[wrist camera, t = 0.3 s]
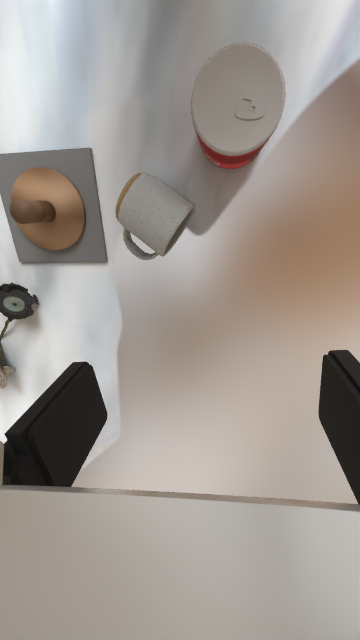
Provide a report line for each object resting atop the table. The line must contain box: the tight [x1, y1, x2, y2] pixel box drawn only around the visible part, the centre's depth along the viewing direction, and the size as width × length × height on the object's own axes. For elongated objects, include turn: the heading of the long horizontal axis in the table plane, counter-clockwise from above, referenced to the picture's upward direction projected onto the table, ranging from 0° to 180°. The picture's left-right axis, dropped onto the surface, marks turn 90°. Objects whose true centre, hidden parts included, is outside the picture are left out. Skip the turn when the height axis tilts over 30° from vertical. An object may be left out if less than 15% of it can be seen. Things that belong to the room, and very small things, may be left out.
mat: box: [0, 148, 108, 262], centre depth 39 cm, size 15×15×1 cm
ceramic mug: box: [116, 173, 195, 260], centre depth 34 cm, size 11×8×8 cm
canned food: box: [191, 43, 285, 169], centre depth 27 cm, size 8×8×11 cm
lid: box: [10, 167, 86, 250], centre depth 35 cm, size 11×11×6 cm
